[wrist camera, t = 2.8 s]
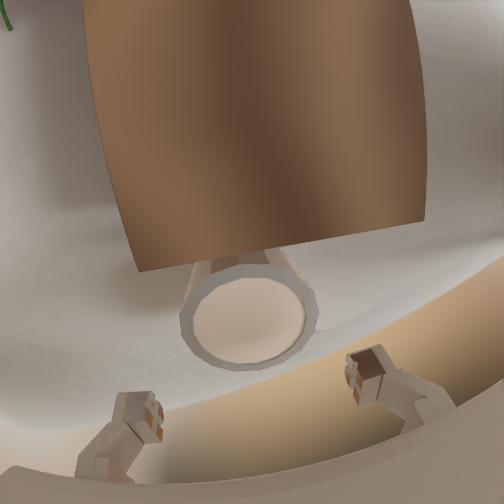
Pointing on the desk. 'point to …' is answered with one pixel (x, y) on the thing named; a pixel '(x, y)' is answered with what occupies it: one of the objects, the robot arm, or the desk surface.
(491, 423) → the robot arm
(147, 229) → the walnut shelf
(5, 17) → the lily
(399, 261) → the desk surface
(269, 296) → the cream tapered cup
